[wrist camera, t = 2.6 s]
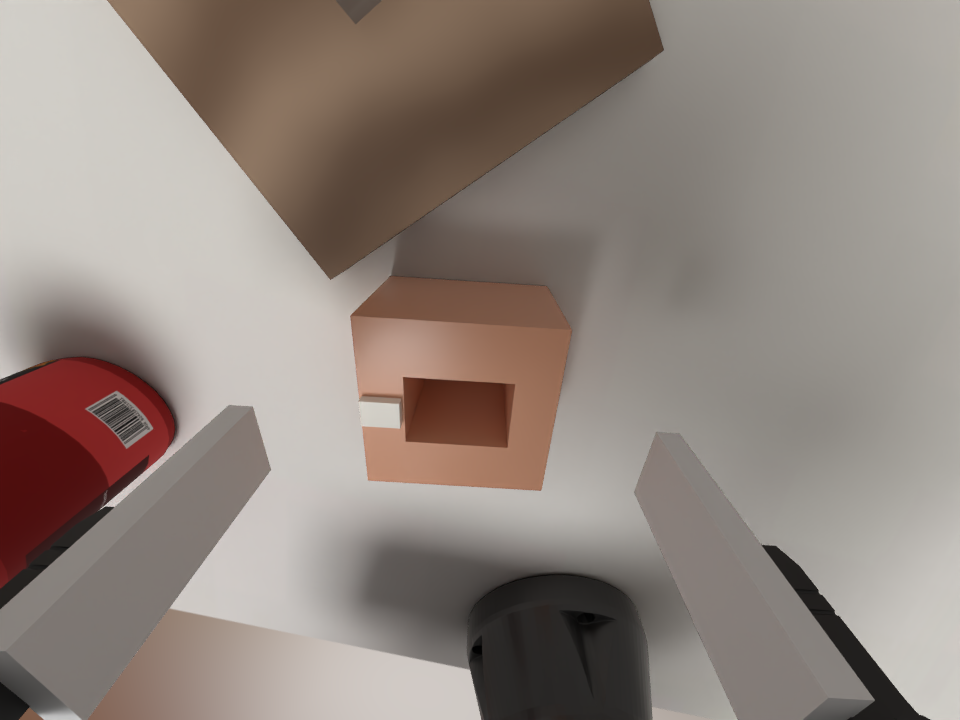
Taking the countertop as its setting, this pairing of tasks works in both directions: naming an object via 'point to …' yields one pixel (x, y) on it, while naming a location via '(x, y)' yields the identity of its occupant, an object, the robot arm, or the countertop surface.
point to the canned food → (70, 449)
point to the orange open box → (459, 381)
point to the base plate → (384, 95)
